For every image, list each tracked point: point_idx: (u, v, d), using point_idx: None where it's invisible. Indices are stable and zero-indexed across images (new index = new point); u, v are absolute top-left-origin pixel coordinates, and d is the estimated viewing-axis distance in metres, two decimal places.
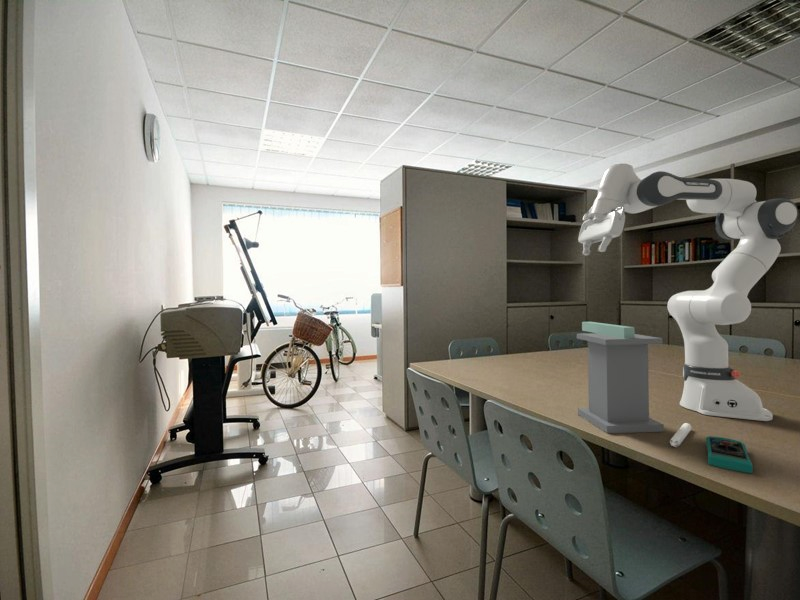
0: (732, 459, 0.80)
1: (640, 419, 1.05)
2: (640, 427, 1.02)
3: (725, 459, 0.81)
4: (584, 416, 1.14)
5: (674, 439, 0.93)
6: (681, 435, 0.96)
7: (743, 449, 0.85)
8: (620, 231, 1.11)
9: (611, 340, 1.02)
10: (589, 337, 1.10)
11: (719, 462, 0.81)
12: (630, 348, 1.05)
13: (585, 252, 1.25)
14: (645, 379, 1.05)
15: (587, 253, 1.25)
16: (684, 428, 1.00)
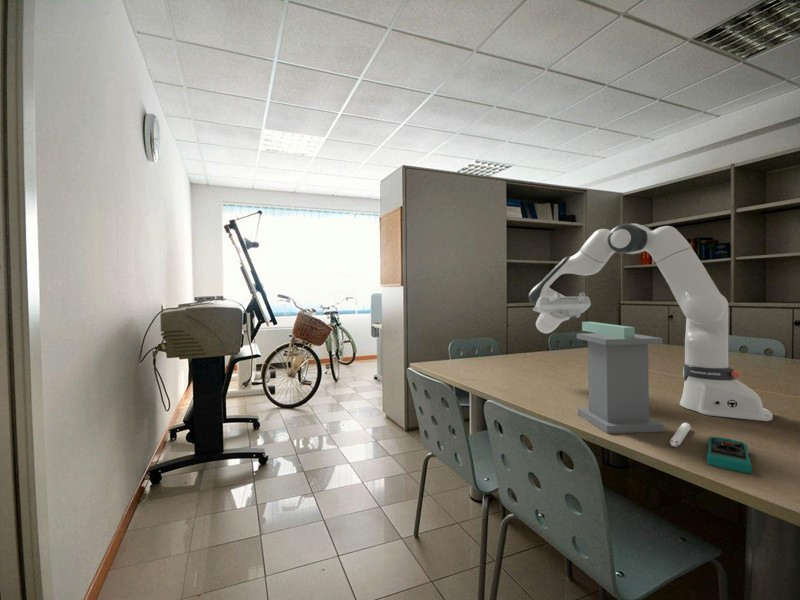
0: (731, 459, 0.80)
1: (640, 419, 1.05)
2: (640, 427, 1.02)
3: (724, 459, 0.81)
4: (584, 416, 1.14)
5: (674, 439, 0.93)
6: (681, 434, 0.96)
7: (744, 449, 0.85)
8: (538, 299, 1.45)
9: (611, 340, 1.02)
10: (589, 337, 1.10)
11: (718, 462, 0.81)
12: (630, 348, 1.05)
13: (581, 296, 1.40)
14: (645, 379, 1.05)
15: (580, 294, 1.40)
16: (683, 428, 1.00)
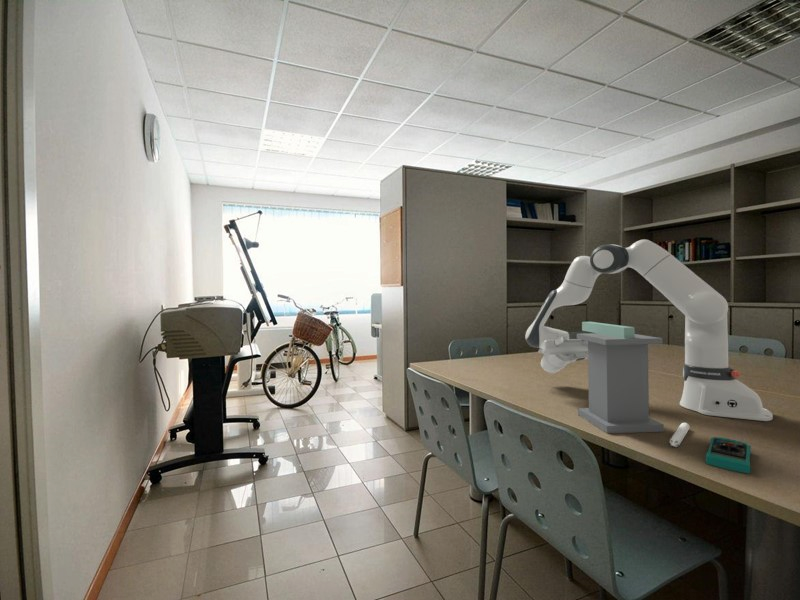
0: (729, 459, 0.80)
1: (640, 419, 1.05)
2: (640, 427, 1.02)
3: (722, 459, 0.81)
4: (584, 416, 1.14)
5: (674, 439, 0.93)
6: (680, 434, 0.96)
7: (746, 450, 0.85)
8: (543, 342, 1.39)
9: (611, 340, 1.02)
10: (589, 337, 1.10)
11: (716, 461, 0.82)
12: (630, 348, 1.05)
13: None
14: (645, 379, 1.05)
15: None
16: (683, 428, 1.00)
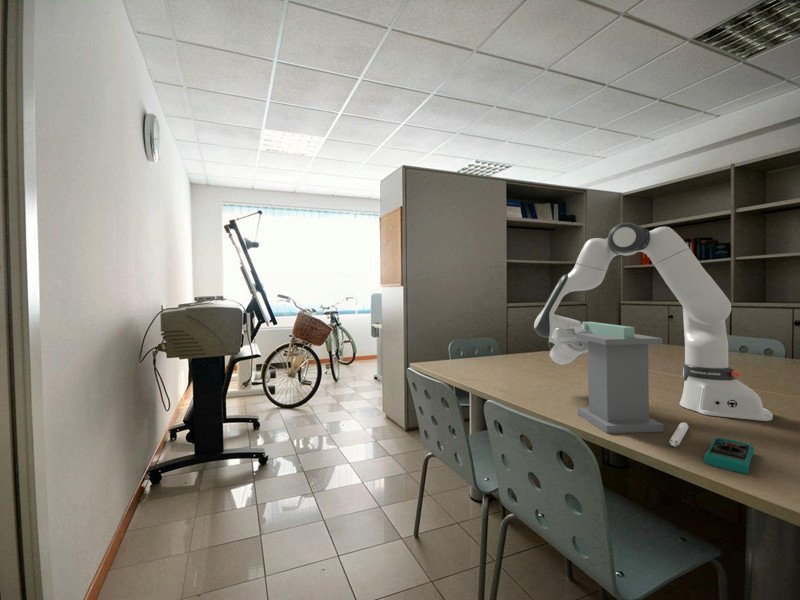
0: (728, 459, 0.80)
1: (640, 419, 1.05)
2: (640, 427, 1.02)
3: (721, 459, 0.81)
4: (584, 416, 1.14)
5: (674, 439, 0.93)
6: (680, 434, 0.96)
7: (747, 451, 0.84)
8: (555, 330, 1.29)
9: (611, 340, 1.02)
10: (589, 337, 1.10)
11: (714, 461, 0.82)
12: (630, 348, 1.05)
13: None
14: (645, 379, 1.05)
15: None
16: (682, 427, 1.00)
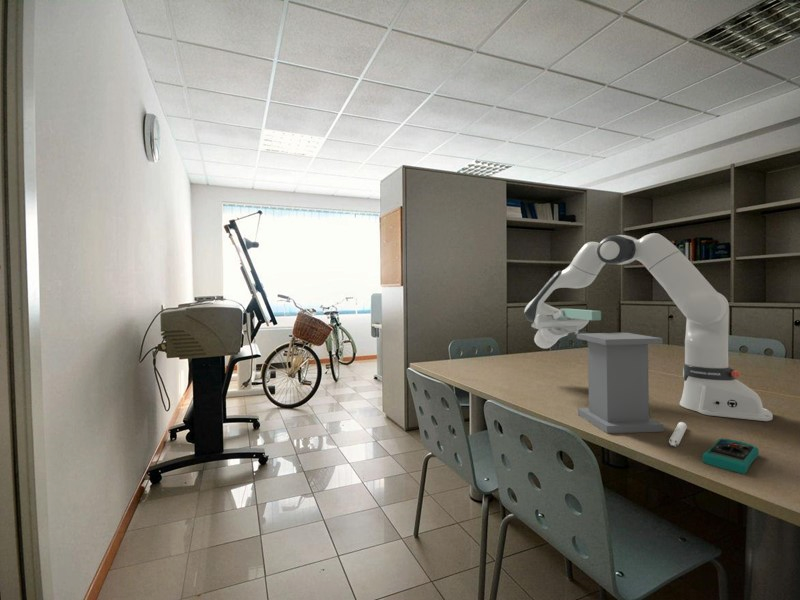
0: (725, 458, 0.81)
1: (640, 419, 1.05)
2: (640, 427, 1.02)
3: (718, 458, 0.81)
4: (584, 416, 1.14)
5: (673, 439, 0.93)
6: (679, 434, 0.96)
7: (749, 452, 0.84)
8: (536, 316, 1.46)
9: (611, 340, 1.02)
10: (589, 337, 1.10)
11: (712, 460, 0.82)
12: (630, 348, 1.05)
13: None
14: (645, 379, 1.05)
15: None
16: (681, 427, 1.01)
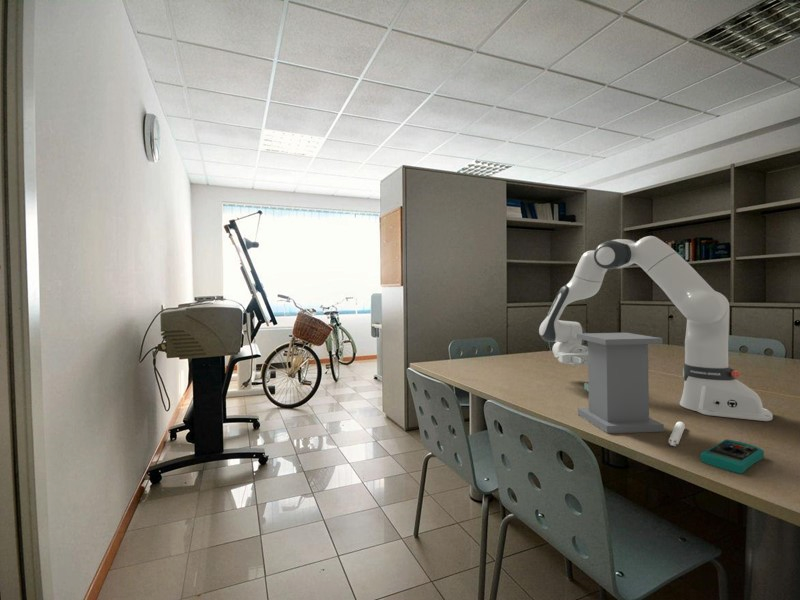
0: (722, 458, 0.81)
1: (640, 419, 1.05)
2: (640, 427, 1.02)
3: (715, 458, 0.82)
4: (584, 416, 1.14)
5: (673, 438, 0.93)
6: (678, 434, 0.97)
7: (751, 453, 0.83)
8: (561, 355, 1.46)
9: (611, 340, 1.02)
10: (589, 337, 1.10)
11: (709, 460, 0.83)
12: (630, 348, 1.05)
13: None
14: (645, 379, 1.05)
15: None
16: (679, 427, 1.01)
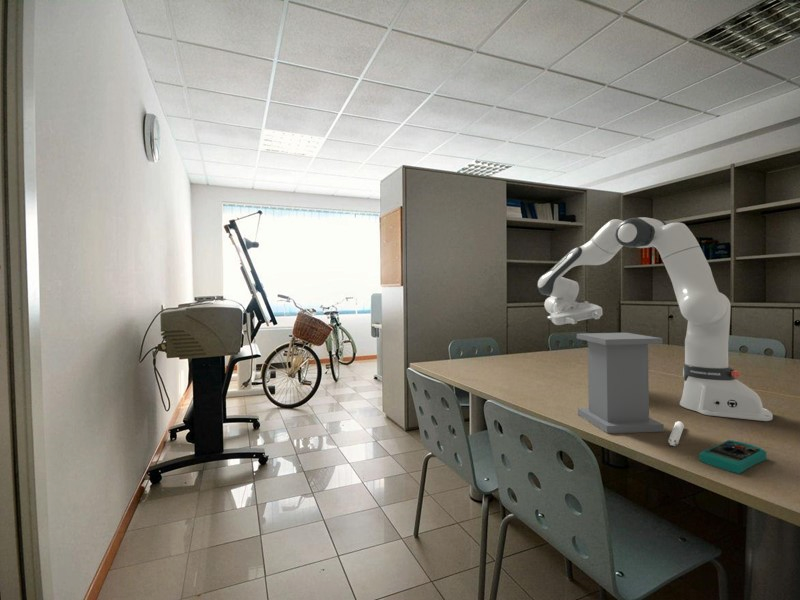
0: (721, 458, 0.81)
1: (640, 419, 1.05)
2: (640, 427, 1.02)
3: (714, 457, 0.82)
4: (584, 416, 1.14)
5: (673, 438, 0.93)
6: (678, 433, 0.97)
7: (752, 454, 0.83)
8: (554, 318, 1.52)
9: (611, 340, 1.02)
10: (589, 337, 1.10)
11: (708, 459, 0.83)
12: (630, 348, 1.05)
13: (595, 318, 1.47)
14: (645, 379, 1.05)
15: (595, 316, 1.47)
16: (678, 426, 1.01)
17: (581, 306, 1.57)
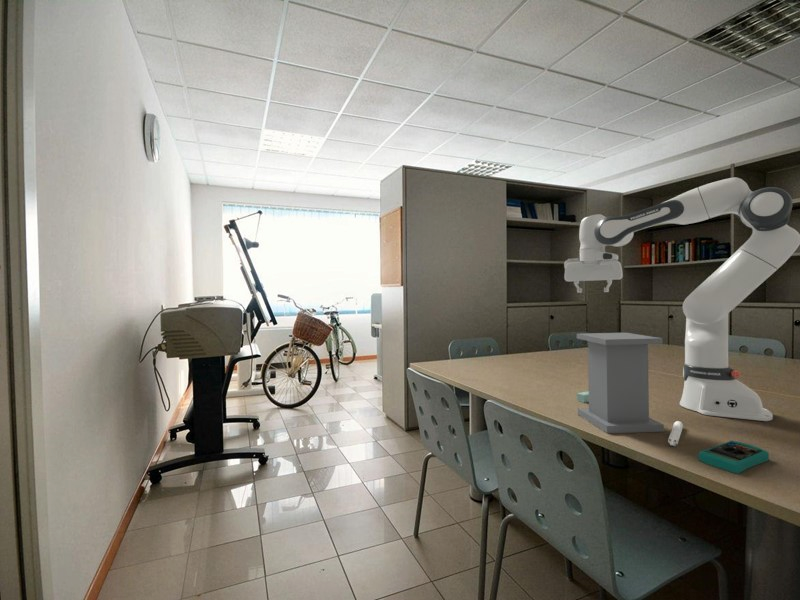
0: (719, 457, 0.81)
1: (640, 419, 1.05)
2: (640, 427, 1.02)
3: (712, 457, 0.82)
4: (584, 416, 1.14)
5: (672, 438, 0.93)
6: (677, 433, 0.97)
7: (753, 454, 0.82)
8: None
9: (611, 340, 1.02)
10: (589, 337, 1.10)
11: (707, 459, 0.83)
12: (630, 348, 1.05)
13: None
14: (645, 379, 1.05)
15: None
16: (678, 426, 1.01)
17: (603, 264, 1.40)
